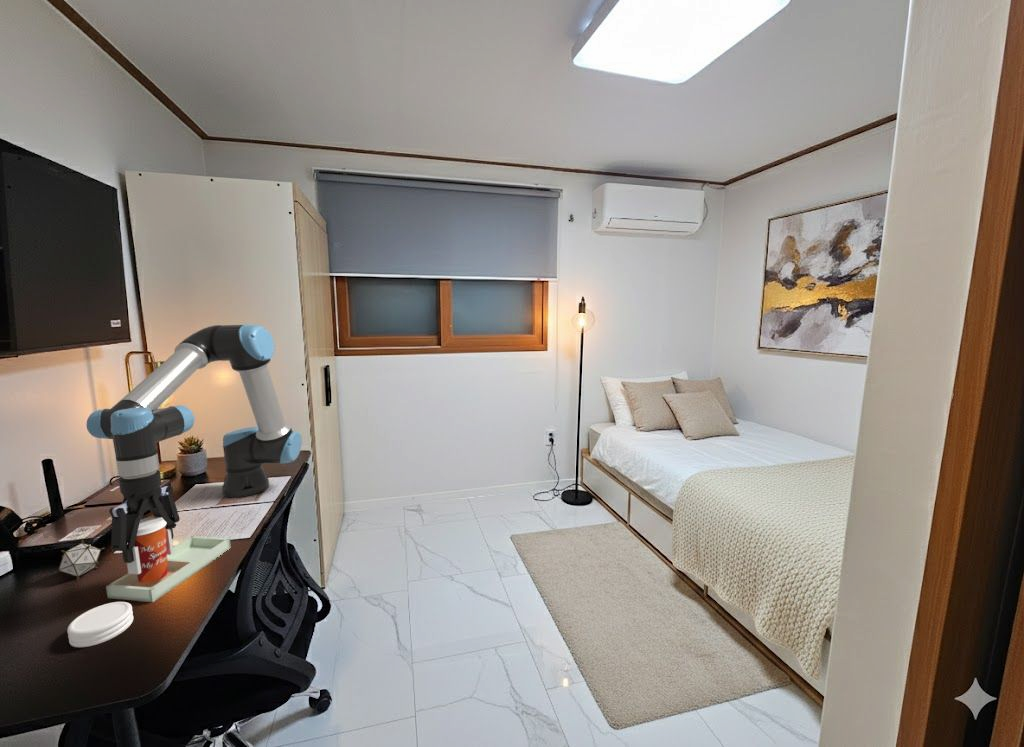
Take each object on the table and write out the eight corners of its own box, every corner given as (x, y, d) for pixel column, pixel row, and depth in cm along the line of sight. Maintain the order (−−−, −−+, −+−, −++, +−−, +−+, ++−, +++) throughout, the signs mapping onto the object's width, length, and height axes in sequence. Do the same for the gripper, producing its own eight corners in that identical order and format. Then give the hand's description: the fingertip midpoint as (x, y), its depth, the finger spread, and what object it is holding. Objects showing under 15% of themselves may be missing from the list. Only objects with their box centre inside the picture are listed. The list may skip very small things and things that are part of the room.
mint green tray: (193, 546, 126) (191, 536, 126) (230, 548, 124) (229, 538, 124) (107, 598, 103) (106, 586, 103) (152, 602, 101) (151, 590, 101)
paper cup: (150, 587, 103) (142, 532, 101) (124, 584, 105) (116, 529, 103) (181, 568, 111) (174, 516, 109) (156, 565, 112) (149, 514, 110)
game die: (75, 592, 112) (36, 575, 105) (86, 565, 118) (49, 548, 112) (110, 571, 113) (73, 553, 107) (118, 545, 120) (84, 527, 113)
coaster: (83, 622, 95) (81, 607, 95) (141, 610, 99) (139, 595, 98) (58, 655, 86) (55, 639, 86) (123, 639, 90) (120, 624, 89)
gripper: (165, 458, 115) (176, 540, 118) (77, 490, 95) (93, 587, 98) (190, 459, 114) (200, 542, 117) (107, 491, 94) (122, 590, 97)
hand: (151, 562), depth 107 cm, fingers closed on paper cup, 8 cm apart
